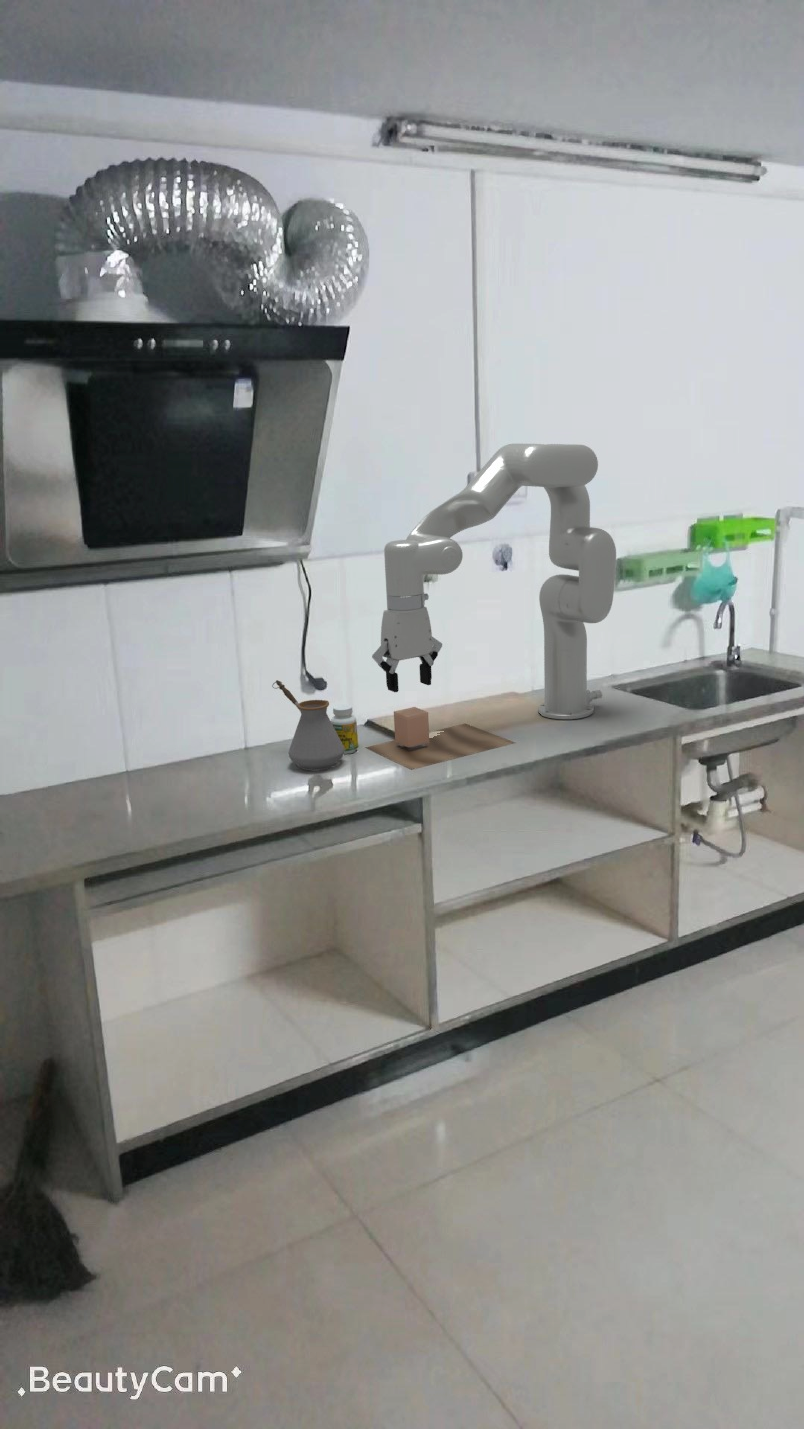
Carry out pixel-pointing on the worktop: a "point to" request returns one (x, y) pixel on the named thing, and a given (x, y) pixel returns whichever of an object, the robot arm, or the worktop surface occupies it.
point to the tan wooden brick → (411, 727)
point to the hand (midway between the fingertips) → (409, 686)
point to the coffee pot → (313, 735)
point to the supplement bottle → (345, 727)
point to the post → (412, 747)
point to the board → (442, 746)
